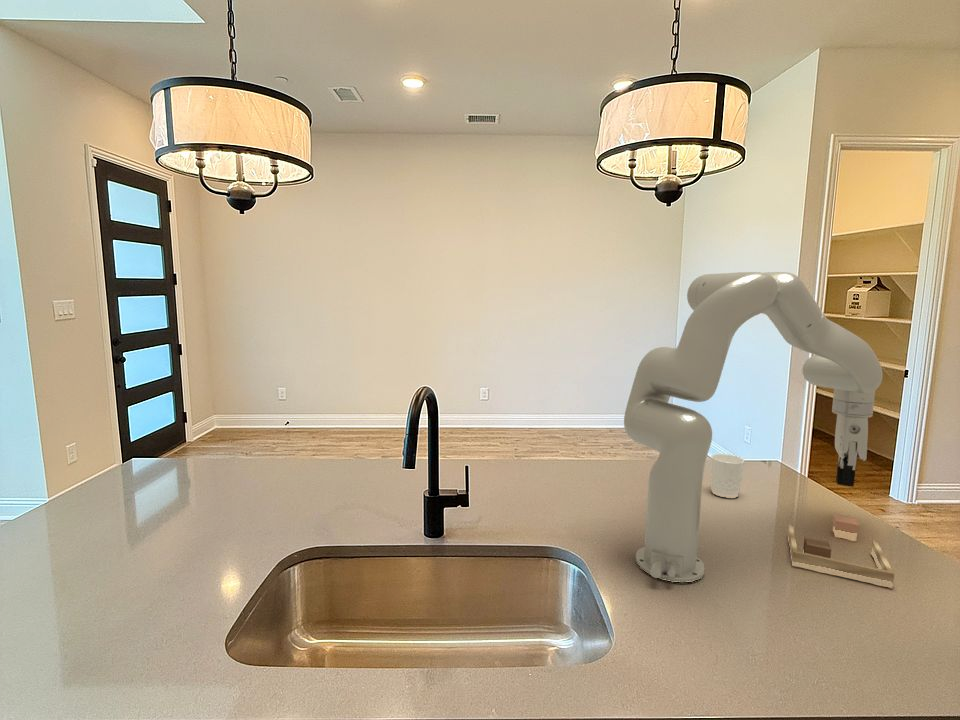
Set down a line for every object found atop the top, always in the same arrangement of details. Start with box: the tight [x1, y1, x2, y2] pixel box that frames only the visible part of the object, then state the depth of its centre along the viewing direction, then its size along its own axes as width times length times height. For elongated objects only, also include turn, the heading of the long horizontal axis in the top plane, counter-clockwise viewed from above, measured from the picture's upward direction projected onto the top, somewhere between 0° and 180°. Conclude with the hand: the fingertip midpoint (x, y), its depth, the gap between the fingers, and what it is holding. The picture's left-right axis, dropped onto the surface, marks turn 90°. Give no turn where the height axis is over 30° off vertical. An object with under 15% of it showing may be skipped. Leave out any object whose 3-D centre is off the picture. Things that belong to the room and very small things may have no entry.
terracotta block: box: [832, 513, 860, 533], centre depth 111 cm, size 4×4×4 cm
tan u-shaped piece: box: [787, 523, 895, 583], centre depth 101 cm, size 14×16×3 cm
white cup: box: [710, 453, 745, 495], centre depth 134 cm, size 8×8×10 cm
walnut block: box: [802, 536, 832, 559], centre depth 100 cm, size 4×4×4 cm
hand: (844, 484), depth 117 cm, fingers closed
